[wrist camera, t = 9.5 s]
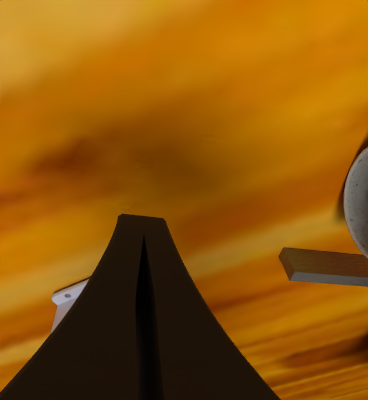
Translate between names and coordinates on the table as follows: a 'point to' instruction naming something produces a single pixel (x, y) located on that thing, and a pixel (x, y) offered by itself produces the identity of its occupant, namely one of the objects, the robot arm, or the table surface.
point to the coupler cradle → (325, 267)
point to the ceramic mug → (358, 201)
